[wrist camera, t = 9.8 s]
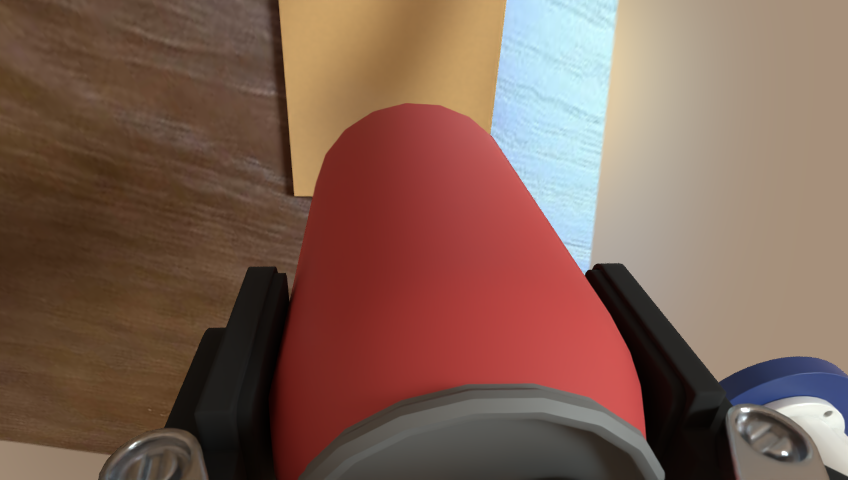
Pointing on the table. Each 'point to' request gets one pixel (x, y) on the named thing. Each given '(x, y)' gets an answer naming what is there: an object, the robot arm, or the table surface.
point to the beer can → (445, 324)
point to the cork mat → (382, 65)
